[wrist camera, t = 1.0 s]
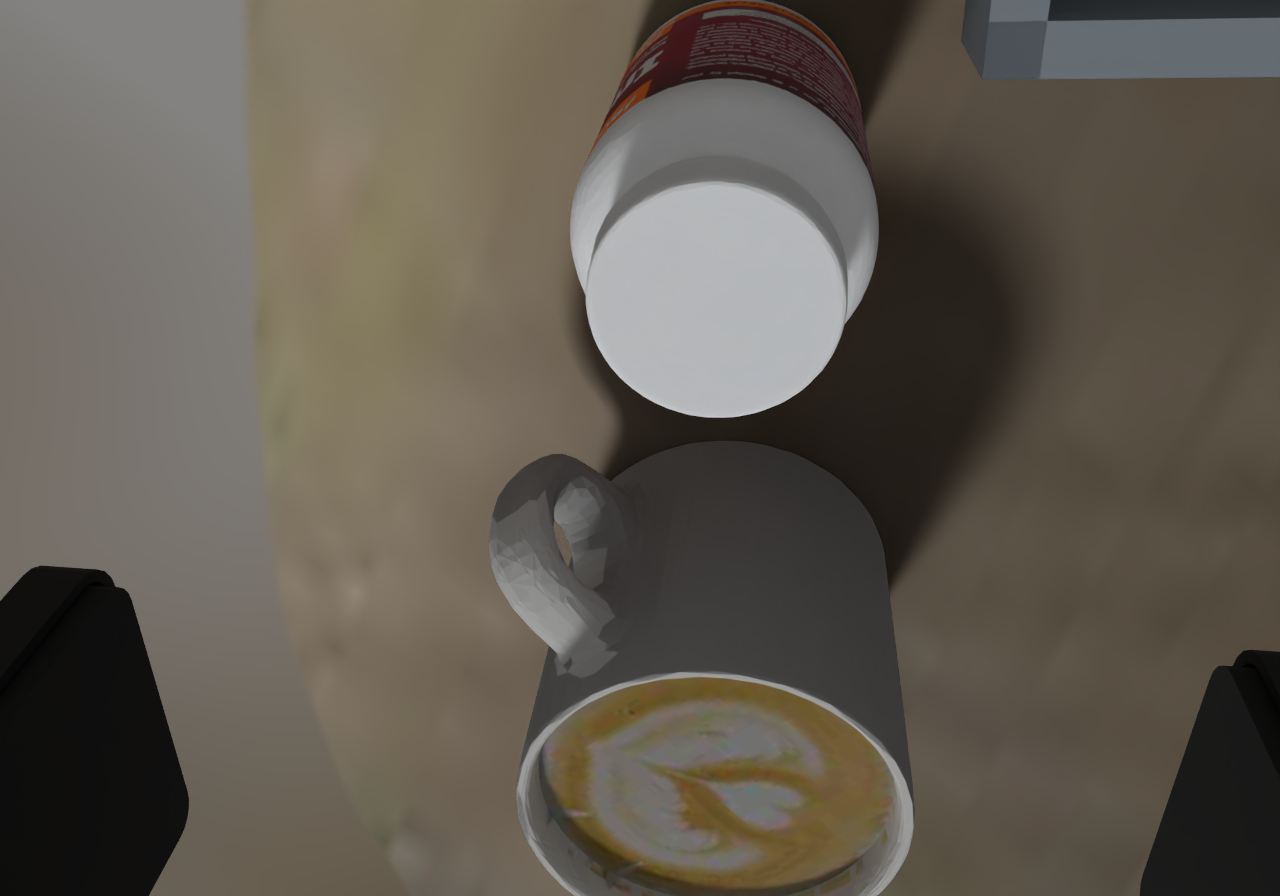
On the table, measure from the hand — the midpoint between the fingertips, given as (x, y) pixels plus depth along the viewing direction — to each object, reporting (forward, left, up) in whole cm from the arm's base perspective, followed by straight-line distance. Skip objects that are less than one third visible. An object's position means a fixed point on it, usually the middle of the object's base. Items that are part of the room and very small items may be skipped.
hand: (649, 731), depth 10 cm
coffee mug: (-14, +1, -23) cm, 27 cm away
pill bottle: (-1, 0, -23) cm, 23 cm away
